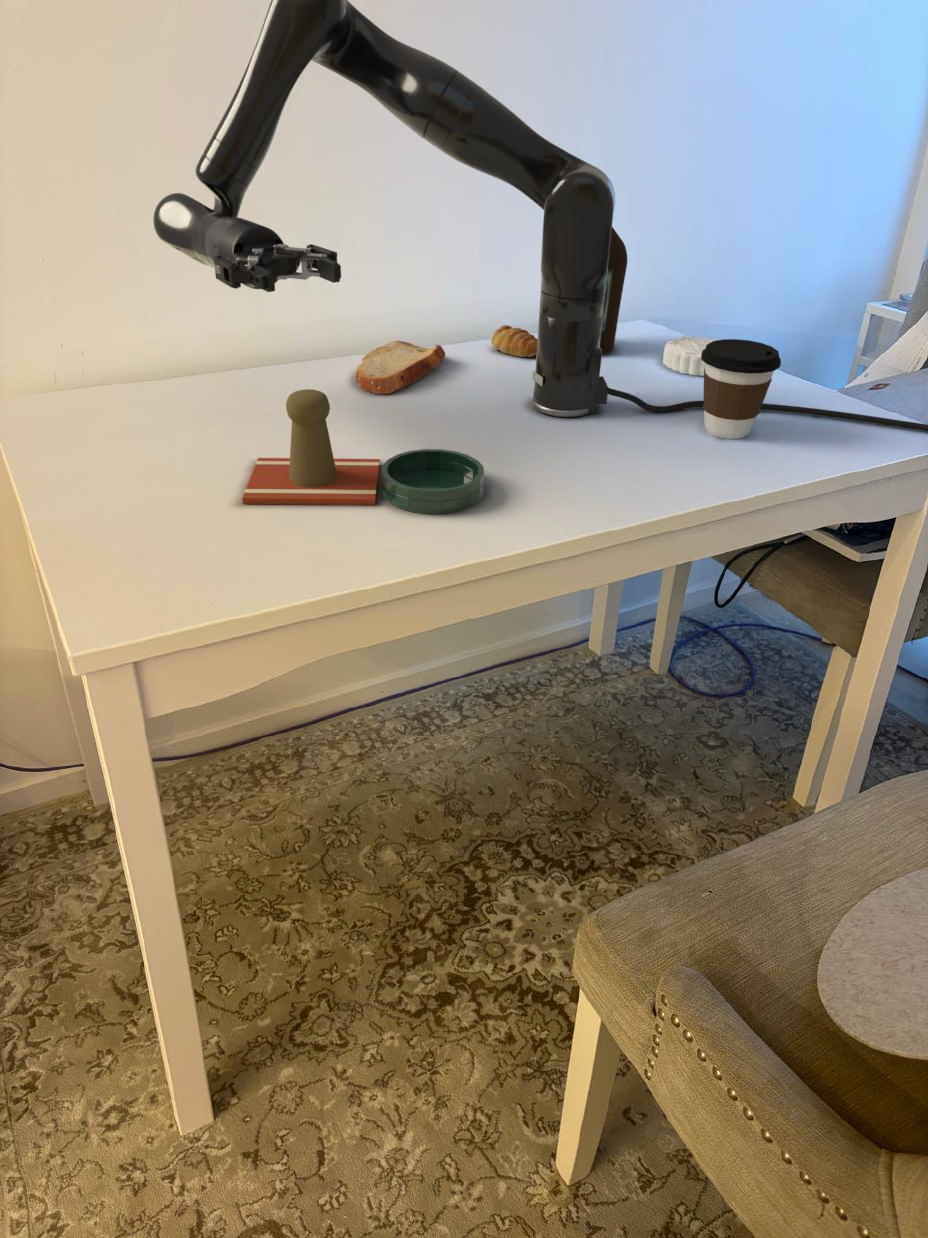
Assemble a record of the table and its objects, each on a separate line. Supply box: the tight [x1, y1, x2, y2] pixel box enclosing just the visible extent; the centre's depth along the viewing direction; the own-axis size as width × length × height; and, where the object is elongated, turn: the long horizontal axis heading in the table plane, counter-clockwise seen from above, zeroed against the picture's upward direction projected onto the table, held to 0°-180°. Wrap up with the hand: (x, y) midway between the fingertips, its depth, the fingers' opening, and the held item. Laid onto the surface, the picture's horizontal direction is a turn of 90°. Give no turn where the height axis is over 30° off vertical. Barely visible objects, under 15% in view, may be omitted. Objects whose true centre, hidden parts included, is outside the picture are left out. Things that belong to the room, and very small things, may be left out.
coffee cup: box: [701, 338, 782, 440], centre depth 130 cm, size 11×11×12 cm
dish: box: [381, 448, 485, 515], centre depth 113 cm, size 13×13×3 cm
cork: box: [285, 388, 337, 487], centre depth 112 cm, size 6×6×11 cm
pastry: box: [490, 324, 538, 358], centre depth 161 cm, size 9×7×4 cm
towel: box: [241, 457, 381, 506], centre depth 115 cm, size 16×12×1 cm
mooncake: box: [662, 336, 718, 377], centre depth 157 cm, size 12×12×4 cm
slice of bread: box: [355, 340, 446, 395], centre depth 150 cm, size 18×18×4 cm
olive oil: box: [600, 226, 628, 356], centre depth 158 cm, size 11×11×25 cm
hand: (305, 277), depth 106 cm, fingers open, 8 cm apart
